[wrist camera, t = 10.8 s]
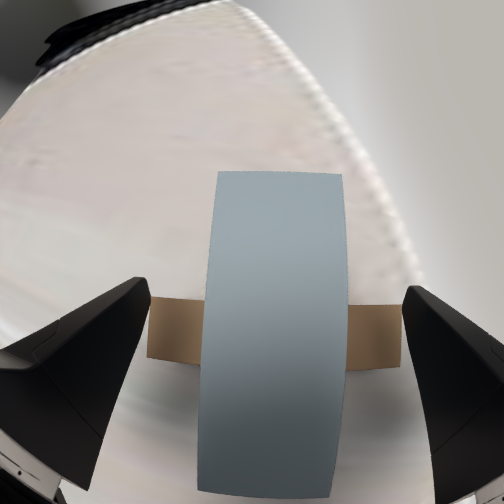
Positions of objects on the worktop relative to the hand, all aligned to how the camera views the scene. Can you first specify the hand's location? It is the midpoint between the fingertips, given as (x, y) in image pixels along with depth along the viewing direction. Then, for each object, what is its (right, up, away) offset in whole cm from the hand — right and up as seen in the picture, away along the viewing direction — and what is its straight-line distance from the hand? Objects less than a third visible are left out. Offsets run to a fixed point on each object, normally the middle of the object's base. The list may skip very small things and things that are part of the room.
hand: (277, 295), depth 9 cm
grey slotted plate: (+1, -3, +7) cm, 8 cm away
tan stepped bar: (+1, -3, +7) cm, 8 cm away
